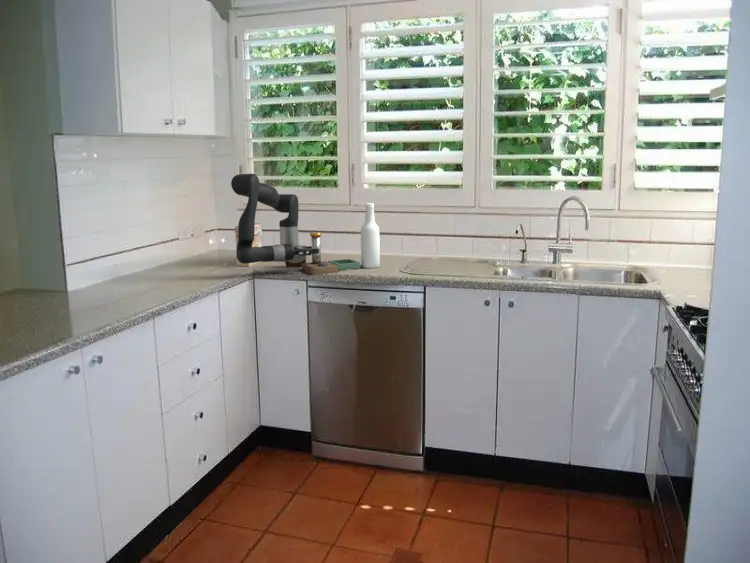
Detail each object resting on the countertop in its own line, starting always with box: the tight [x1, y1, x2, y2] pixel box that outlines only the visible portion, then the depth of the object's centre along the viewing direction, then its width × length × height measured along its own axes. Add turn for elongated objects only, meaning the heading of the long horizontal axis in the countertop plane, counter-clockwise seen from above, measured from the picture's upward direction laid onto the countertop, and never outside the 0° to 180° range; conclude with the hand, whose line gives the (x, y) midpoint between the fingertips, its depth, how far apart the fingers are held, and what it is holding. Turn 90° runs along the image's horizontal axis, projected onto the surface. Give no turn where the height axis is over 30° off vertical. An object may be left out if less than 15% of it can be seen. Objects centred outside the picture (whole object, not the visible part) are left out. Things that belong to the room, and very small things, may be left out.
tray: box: [327, 258, 361, 271], centre depth 316 cm, size 12×11×3 cm
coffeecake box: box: [234, 223, 263, 267], centre depth 330 cm, size 15×7×20 cm, turn 161°
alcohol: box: [360, 202, 381, 269], centre depth 315 cm, size 9×9×30 cm
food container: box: [284, 244, 308, 269], centre depth 321 cm, size 12×6×10 cm, turn 84°
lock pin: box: [309, 231, 322, 265], centre depth 311 cm, size 5×5×17 cm
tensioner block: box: [301, 260, 339, 275], centre depth 309 cm, size 15×12×4 cm
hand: (315, 249), depth 311 cm, fingers open, 8 cm apart
